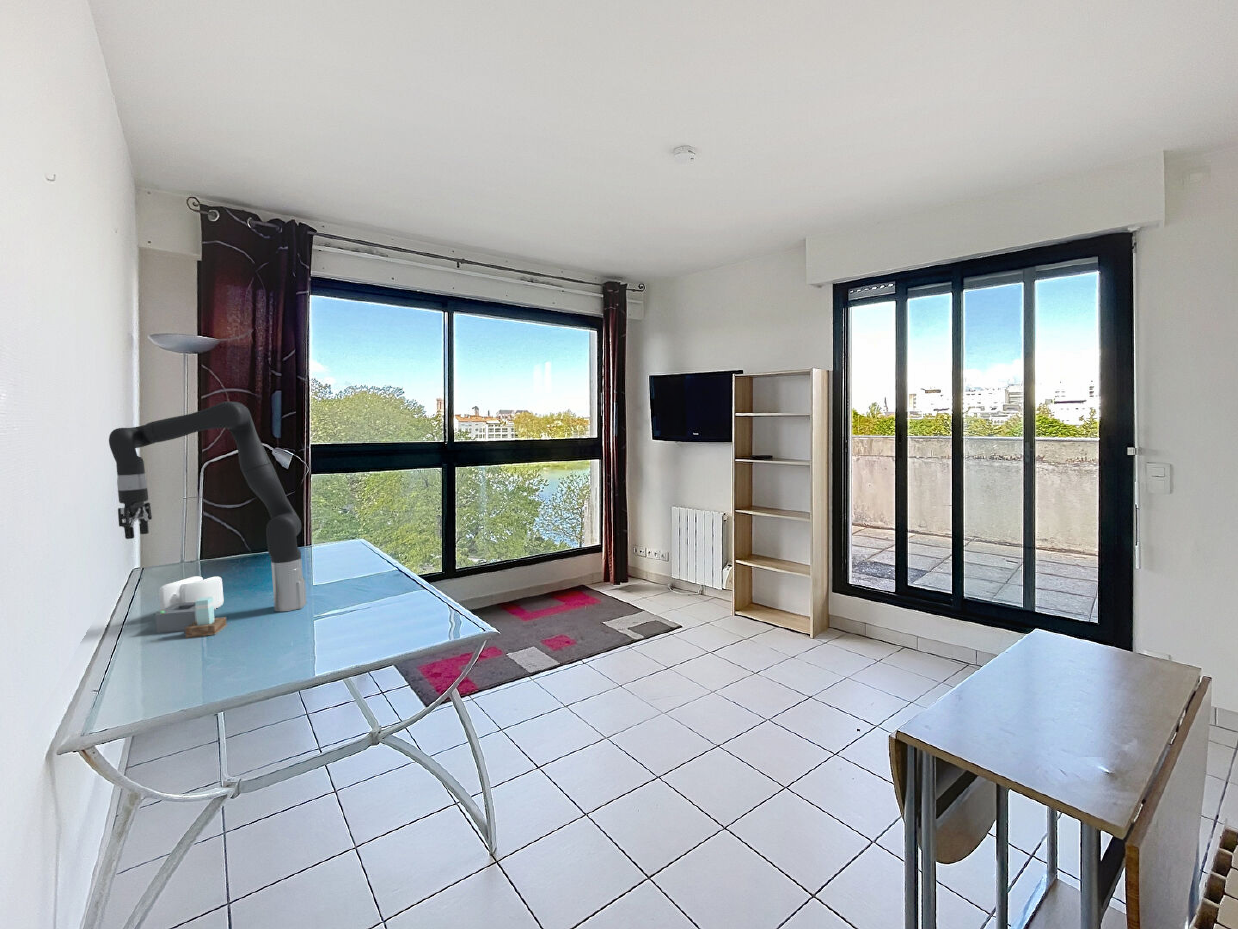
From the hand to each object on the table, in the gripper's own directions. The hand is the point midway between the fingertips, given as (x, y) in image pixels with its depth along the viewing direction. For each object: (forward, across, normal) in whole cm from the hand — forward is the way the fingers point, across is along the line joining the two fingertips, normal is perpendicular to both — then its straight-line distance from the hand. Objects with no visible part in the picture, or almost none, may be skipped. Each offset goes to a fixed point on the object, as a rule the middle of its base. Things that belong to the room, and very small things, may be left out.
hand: (137, 536), depth 192 cm
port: (+29, -10, -16) cm, 35 cm away
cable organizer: (+29, +4, -12) cm, 32 cm away
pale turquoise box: (+28, -19, -26) cm, 43 cm away
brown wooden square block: (+29, -19, -26) cm, 43 cm away
